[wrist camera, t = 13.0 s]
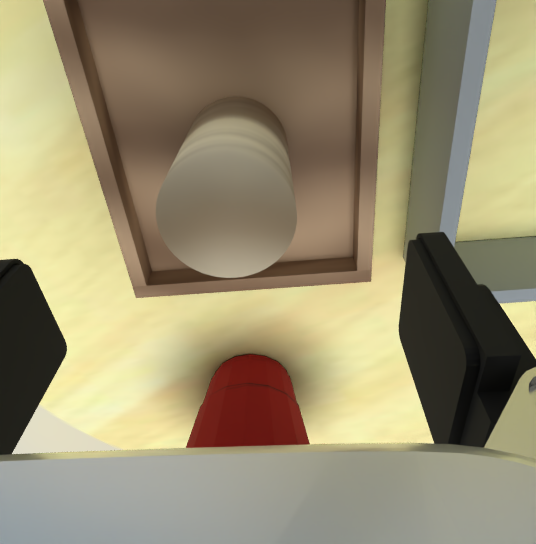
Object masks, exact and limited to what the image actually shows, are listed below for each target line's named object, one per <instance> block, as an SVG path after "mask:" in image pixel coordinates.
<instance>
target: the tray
mask: <svg viewBox="0 0 536 544" xmlns="http://www.w3.org/2000/svg"><path fill="white" fill-rule="evenodd" d="M43 2H44V5H45V8H46V11H47V14H48V18H49V21H50V24H51V27H52V30H53V34H54V37H55V40H56V43H57V46H58V50H59V53H60V56H61V59H62V62H63V65H64V69H65V72H66V75H67V78H68V81H69V85H70V88H71V91H72V94H73V97H74V101H75V104H76V107H77V110H78V113H79V117H80V120H81V123H82V126H83V129H84V133H85V136H86V139H87V142H88V145H89V149H90V152H91V155H92V158H93V161H94V165H95V168H96V171H97V174H98V177H99V181H100V184H101V187H102V190H103V193H104V197H105V200H106V203H107V206H108V209H109V212H110V216H111V219H112V222H113V225H114V228H115V232H116V235H117V238H118V241H119V244H120V248H121V251H122V254H123V257H124V260H125V264H126V267H127V270H128V273H129V276H130V280H131V283H132V286H133V289H134V292H135V296H136V298H143V297H157V296H171V295H186V294H200V293H214V292H229V291H243V290H257V289H272V288H286V287H300V286H314V285H329V284H343V283H357V282H371V271H372V252H373V234H374V215H375V196H376V177H377V159H378V140H379V121H380V102H381V84H382V65H383V46H384V27H385V9H386V0H43ZM237 96H239V97H246V98H250V99H253V100H256V101H258V102H260V103H262V104H263V105H265V106H266V107H268V108H269V109H270V110H271V111H272V112H273V113H274V114H275V115H276V116H277V118H278V119H279V121H280V122H281V124H282V126H283V128H284V131H285V134H286V139H287V146H288V153H289V160H290V167H291V174H292V181H293V188H294V195H295V202H296V210H297V225H296V231H295V234H294V237H293V239H292V242H291V244H290V246H289V247H288V249H287V250H286V252H285V253H284V254H283V255H282V256H281V257H280V258H279V259H278V260H277V261H276V262H275V263H274V264H272V265H271V266H269V267H268V268H266V269H264V270H262V271H260V272H258V273H255V274H252V275H249V276H244V277H237V278H223V277H215V276H210V275H207V274H204V273H201V272H199V271H196V270H194V269H192V268H191V267H189V266H187V265H186V264H184V263H183V262H182V261H180V260H179V259H178V258H177V257H176V256H175V255H174V254H173V253H172V252H171V251H170V249H169V248H168V247H167V245H166V244H165V242H164V241H163V239H162V237H161V234H160V232H159V229H158V226H157V221H156V201H157V197H158V193H159V190H160V188H161V186H162V184H163V182H164V180H165V178H166V176H167V174H168V172H169V170H170V168H171V166H172V164H173V162H174V160H175V158H176V156H177V154H178V152H179V150H180V148H181V146H182V144H183V142H184V140H185V138H186V136H187V134H188V132H189V130H190V128H191V126H192V124H193V122H194V120H195V119H196V117H197V116H198V115H199V113H200V112H201V111H202V110H203V109H204V108H205V107H206V106H208V105H209V104H211V103H213V102H215V101H217V100H219V99H222V98H226V97H237Z"/></svg>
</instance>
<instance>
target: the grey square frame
mask: <svg viewBox="0 0 536 544" xmlns="http://www.w3.org/2000/svg"><path fill="white" fill-rule="evenodd" d="M495 6H496V0H429V1H428V11H427V21H426V31H425V41H424V51H423V61H422V72H421V82H420V92H419V102H418V112H417V122H416V132H415V142H414V153H413V163H412V173H411V183H410V193H409V203H408V213H407V223H406V233H405V244H404V254H403V258H404V260H405V262H406V257H407V248H408V242H409V240H416V237H417V234H418V233H431V232H444V233H445V234H446V235H447V237H448V239H449V240H450V242H451V243H452V245H453V247H454V248H455V250H456V251H457V253H458V255H459V256H460V258H461V259H462V261H463V262H464V264H465V266H466V267H467V269H468V270H469V272H470V274H471V275H472V277H473V278H474V280H475V282H476V283H477V284H483V285H486V286H487V287H488V288H489V289H490V291H491V292H492V294H493V295H494V297H495V298H496V300H497V301H498V303H512V302H527V301H536V236H534V237H520V238H507V239H493V240H480V241H466V242H455V239H456V234H457V228H458V222H459V216H460V210H461V204H462V199H463V193H464V187H465V181H466V175H467V169H468V164H469V158H470V152H471V146H472V140H473V134H474V129H475V123H476V117H477V111H478V105H479V99H480V94H481V88H482V82H483V76H484V70H485V64H486V58H487V53H488V47H489V41H490V35H491V29H492V23H493V18H494V12H495Z"/></svg>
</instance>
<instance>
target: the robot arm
mask: <svg viewBox="0 0 536 544" xmlns="http://www.w3.org/2000/svg"><path fill="white" fill-rule="evenodd" d="M399 336H400V340H401V343H402V346H403V349H404V352H405V355H406V359H407V362H408V365H409V368H410V371H411V374H412V377H413V380H414V383H415V386H416V389H417V392H418V395H419V398H420V401H421V404H422V407H423V410H424V413H425V416H426V419H427V422H428V425H429V428H430V432H431V435H432V438H433V441H434V444H427V443H363V444H308V445H273V446H238V447H204V448H173V449H143V450H116V451H115V450H114V451H86V452H58V453H33V454H12V452H13V450H14V449H15V447H16V445H17V443H18V441H19V440H20V438H21V436H22V434H23V432H24V430H25V429H26V427H27V425H28V423H29V421H30V419H31V418H32V416H33V414H34V412H35V410H36V409H37V407H38V405H39V403H40V401H41V399H42V398H43V396H44V394H45V392H46V390H47V389H48V387H49V385H50V383H51V381H52V379H53V378H54V376H55V374H56V372H57V370H58V369H59V367H60V365H61V363H62V361H63V359H64V358H65V355H66V352H67V345H66V342H65V339H64V337H63V335H62V333H61V331H60V329H59V327H58V325H57V322H56V320H55V318H54V316H53V314H52V312H51V310H50V308H49V306H48V303H47V301H46V299H45V297H44V295H43V293H42V291H41V289H40V287H39V284H38V282H37V280H36V278H35V276H34V274H33V272H32V270H31V268H30V267H29V266H28V265H26V264H24V263H23V262H22V261H21V260H19V259H8V260H0V544H536V359H535V357H534V356H533V354H532V353H531V351H530V350H529V348H528V347H527V345H526V344H525V342H524V341H523V339H522V338H521V336H520V335H519V333H518V332H517V330H516V329H515V327H514V326H513V324H512V322H511V321H510V319H509V318H508V316H507V315H506V313H505V312H504V310H503V309H502V307H501V306H500V304H499V303H498V301H497V300H496V298H495V297H494V295H493V294H492V292H491V291H490V289H489V288H488V287H487V286H486V285H483V284H477V283H476V282H475V280H474V278H473V277H472V275H471V274H470V272H469V270H468V269H467V267H466V266H465V264H464V262H463V261H462V259H461V258H460V256H459V255H458V253H457V251H456V250H455V248H454V247H453V245H452V243H451V242H450V240H449V239H448V237H447V235H446V234H445V233H444V232H431V233H418V234H417V237H416V240H409V242H408V248H407V257H406V266H405V275H404V284H403V293H402V302H401V311H400V320H399Z"/></svg>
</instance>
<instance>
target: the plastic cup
mask: <svg viewBox="0 0 536 544" xmlns="http://www.w3.org/2000/svg"><path fill="white" fill-rule="evenodd" d="M308 444H309V440H308V437H307V433H306V430H305V426H304V423H303V419H302V416H301V412H300V409H299V405H298V404H297V402H296V398H295V394H294V390H293V386H292V383H291V380H290V377H289V376H288V374H287V371H286V370H285V369H284V367H283V366H282V365H281V364H280V363H279V362H277V361H275V360H273V359H271V358H268V357H266V356H261V355H253V354H248V355H242V356H236V357H233V358H231V359H229V360H228V361H226V362H224V363H222V365H221V366H220V367H219V368H218V370H217V371H216V372H215V375H214V376H213V377H212V379H211V382H210V385H209V388H208V391H207V393H206V396H205V399H204V402H203V404H202V405H201V406H200V409H199V412H198V415H197V417H196V420H195V423H194V426H193V429H192V432H191V435H190V437H189V440H188V443H187V446H186V448H204V447H238V446H273V445H308Z"/></svg>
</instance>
